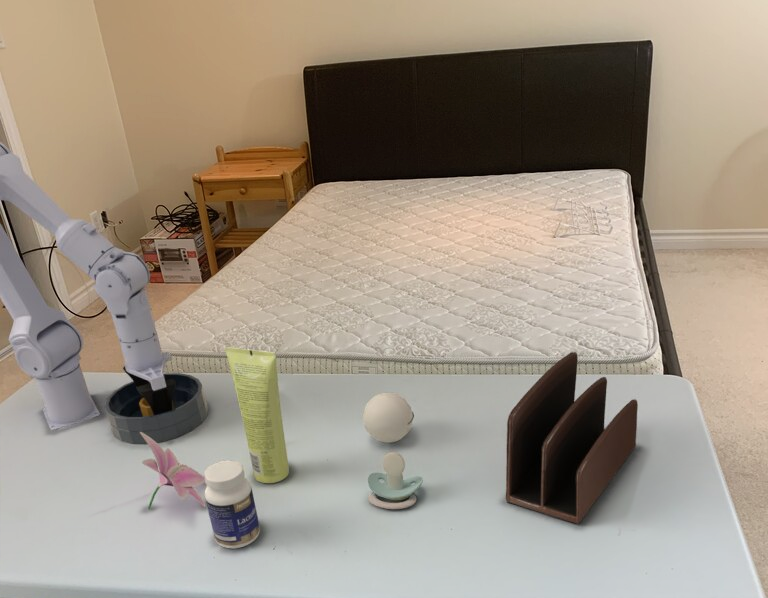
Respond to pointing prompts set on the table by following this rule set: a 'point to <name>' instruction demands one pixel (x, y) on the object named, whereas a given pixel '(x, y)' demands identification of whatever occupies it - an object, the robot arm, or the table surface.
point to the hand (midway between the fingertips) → (158, 412)
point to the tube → (260, 411)
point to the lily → (173, 472)
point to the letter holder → (565, 444)
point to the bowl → (162, 426)
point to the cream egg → (388, 417)
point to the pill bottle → (231, 505)
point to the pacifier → (393, 484)
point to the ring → (147, 408)
